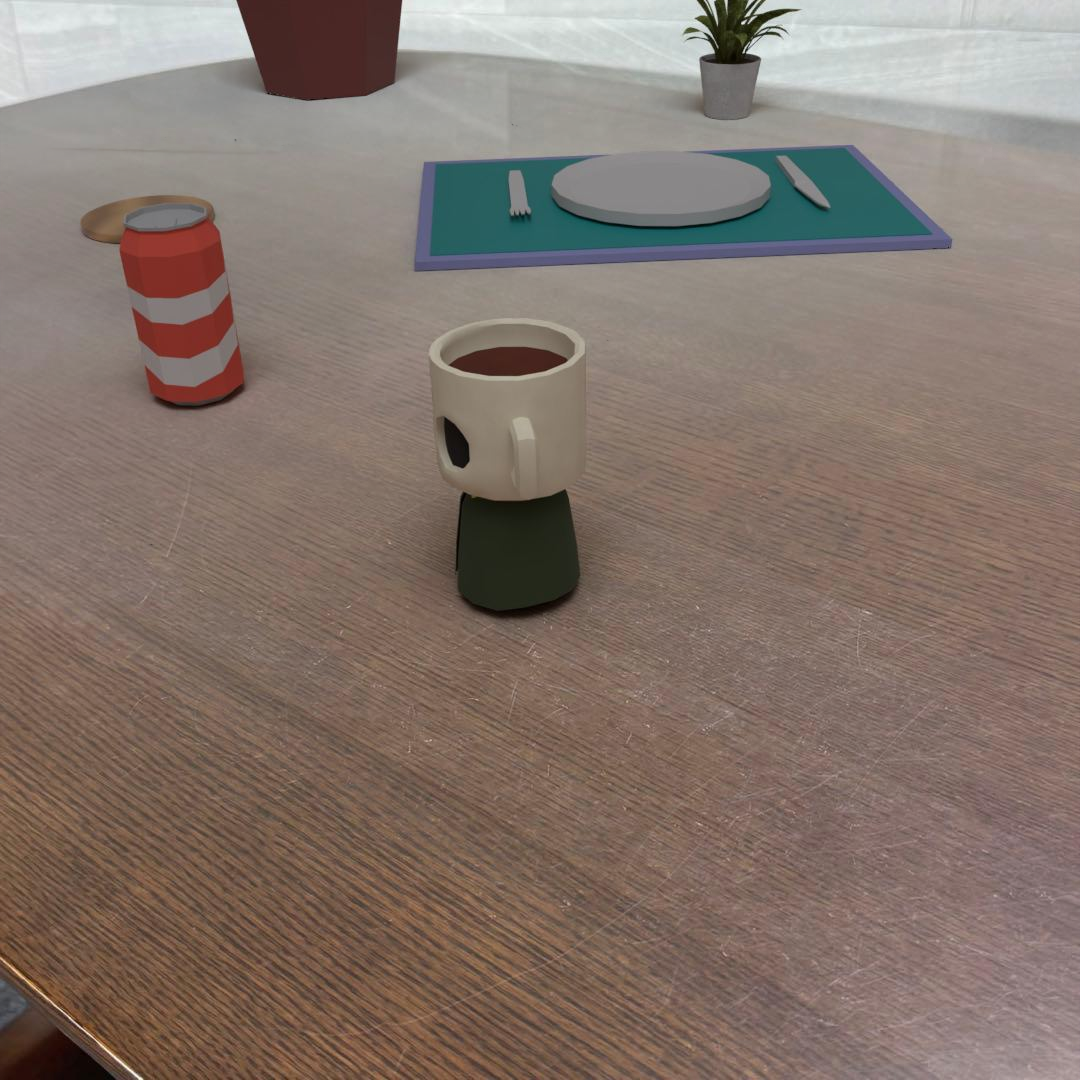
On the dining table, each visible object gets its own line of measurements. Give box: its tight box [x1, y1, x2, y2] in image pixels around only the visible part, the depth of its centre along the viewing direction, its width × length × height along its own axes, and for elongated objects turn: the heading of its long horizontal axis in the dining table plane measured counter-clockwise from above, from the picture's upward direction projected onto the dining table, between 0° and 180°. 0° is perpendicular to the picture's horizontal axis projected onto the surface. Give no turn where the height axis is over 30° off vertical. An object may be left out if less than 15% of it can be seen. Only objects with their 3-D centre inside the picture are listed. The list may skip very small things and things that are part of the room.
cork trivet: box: [79, 194, 216, 244], centre depth 112 cm, size 12×12×1 cm
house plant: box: [681, 0, 803, 121], centre depth 136 cm, size 14×14×16 cm
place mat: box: [414, 144, 953, 272], centre depth 112 cm, size 45×30×2 cm
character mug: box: [428, 317, 587, 612], centre depth 57 cm, size 11×7×13 cm, turn 9°
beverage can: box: [118, 203, 245, 407], centre depth 78 cm, size 6×6×12 cm
